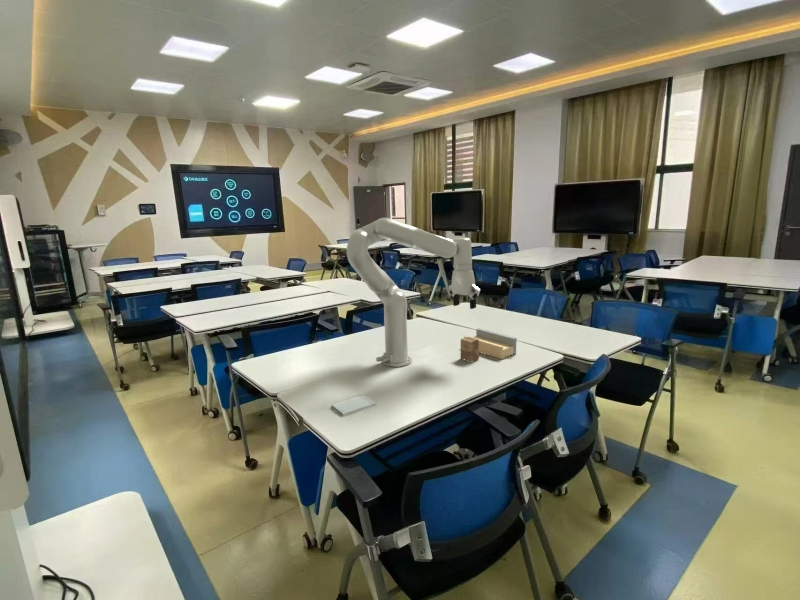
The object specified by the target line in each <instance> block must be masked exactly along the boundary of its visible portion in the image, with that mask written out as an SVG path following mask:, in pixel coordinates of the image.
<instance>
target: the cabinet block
mask: <svg viewBox="0 0 800 600" xmlns="http://www.w3.org/2000/svg"><path fill="white" fill-rule="evenodd" d="M461 358H462V359H461ZM460 359H461V360H463V359H465V360H464V361H466V360H468V361H470V362H469V363H472V362H471V361H473V362H475V361H474V360H476V361H478V360H477V359H479V360H480V352H479V340H478V339H475V338H471V336H468V337H466V338H464V337H463V338H460ZM468 361H467V362H468Z"/></svg>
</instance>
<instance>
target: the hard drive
mask: <svg viewBox="0 0 800 600" xmlns="http://www.w3.org/2000/svg"><path fill="white" fill-rule="evenodd" d="M376 406H377V402H375V401H374V400H372V399H371V398H369V397H368V396H366V395H363V394H362V395H360V396H359V395H358V396H356V397H353V398H350V399H347V400H344V401H341V402H337V403H334V404H332V405H330V408H331V409H332V410H334V411H335V412H336V413H338V414H339V415H340V416H341V417H347V416H350V415H352V414H355V413H357V412H358V413H359V412H360V411H364V410H365V409H366V410H367V409H369V408H372V407H376Z"/></svg>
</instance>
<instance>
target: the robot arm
mask: <svg viewBox="0 0 800 600" xmlns="http://www.w3.org/2000/svg"><path fill="white" fill-rule="evenodd" d="M382 240H386V241H389V242H392V243H395V244H399V245H401V246H404V247H407V248H411V249H413V250H419V251H423V252H426V253H430V254H432V255H434V256H438V257H442V258H444V259H450V258H453V264H452V268H453V269H454V270H452V275H451V284H450V285H449V286H448V290H449V293H450V295H451V297H452V302H453V307H457V306H459V305H460V296H459V295H462V296H468V297H469V298H470V299H469V309H470V310H473V309H476V308H477V299H478V297H479V296H480V294H481V293H480V292H481V288H479V287H478V286H476V278H475V274H474V270H473V254H472V253H473V252H472V240H471V239H470V237H457V238H446V237H443V236H441V235H438V234H435V233H431V232H428V231H426V230H423V229H421V228H418V227H416V226H414V225H409V224H407V223H404V222H401V221H397V220H395V219H392V218H389V217H381V218H378V219H377V220H375V221H373V222H371V223H369V224H366V225H365V226H362V227H359V228H358V229H355V230H354V231H352V232H351V234H350V235H349V238H348V242H347V245H346V257H347V260H348V263H349V264H350V266H351V267H352V269H353V270H354V271H355V273H356V274H357V275H358V276H359V277H360V278H361V279H362V281H363V282H364V283H365V285H366V286H367V287H368V288H369V290H370V291H372V292H373V293H374V294H375V295H376V296H377V298H378V299H379V300H380V301H381V302H382V304H383V310H384V311H383V314H384V315H383V317H384V318H383V319H384V320H383V321H384V322H383V324H384V326H383V327H384V344H385V352H383V354H382V355H381V356H377V357H376V358H375V360H376V362H382V364H383V365H385V366H387V367H393V368H394V367H399V368H400V367H404V366H408V365H410V364H411V363H412V357H411V356H409V353H408V324H407V323H408V320H407V319H408V315H407V314H408V299H407V297H406V295H405V293H404V292H403V291H402V290H401V289H400V288H399V287H398V285H397V284H396V283H395V282H394V281H393V279H392V278H391V277H390V276H389V275H388V274H387V273H386V271H385V270H384V269H382V268H381V267H380V266H379V265H378V264H377V262H376V261H374V259H373V258H372V257H371V255H370V254H369V250H368V249H369V248H370V247H369V246H372V245H374V244H376V243H378V242H380V241H382Z"/></svg>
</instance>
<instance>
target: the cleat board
mask: <svg viewBox="0 0 800 600" xmlns="http://www.w3.org/2000/svg"><path fill="white" fill-rule="evenodd" d="M475 330H476V331H475V332H476V333H475V336H472V337H471V336H470V337H471V338H475V339H478V340H479V353H480V352H482V353H481V354H483V353H485V354H484V355H486V354H489V355H492V356H494V357H493V358H495V357H497V358H496V359H498V358H500V360H503V359H506V358H508V357H507V356H509V357H511V356H510V355H512V356H514V355H513V354H515V355H516V354H517V337H514V336H511V335H507V334H502V333H499V332H495V331H490V330H488V329H484V328H480V327H479V328H476V329H475ZM463 336H464V337H463V338H466V337H469V336H467V335H463ZM489 355H488V356H489ZM492 356H491V357H492ZM505 357H506V358H505ZM502 358H503V359H502Z"/></svg>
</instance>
